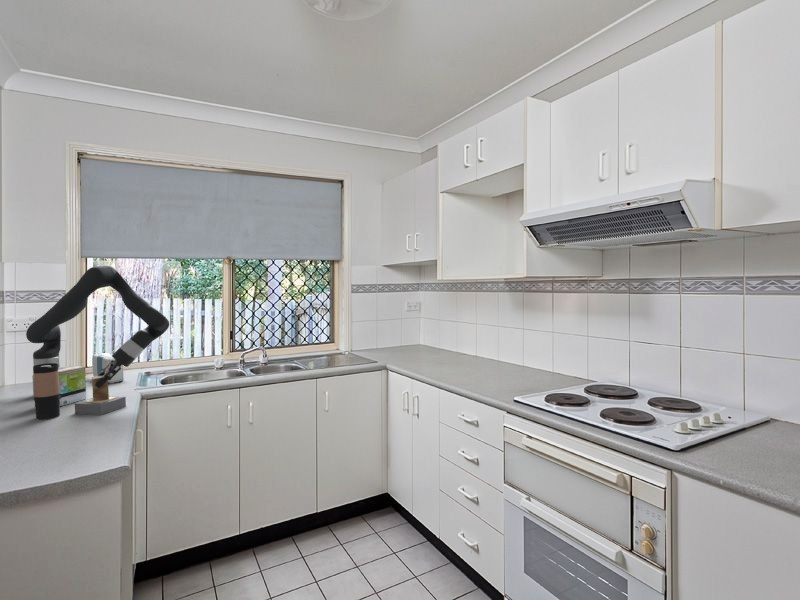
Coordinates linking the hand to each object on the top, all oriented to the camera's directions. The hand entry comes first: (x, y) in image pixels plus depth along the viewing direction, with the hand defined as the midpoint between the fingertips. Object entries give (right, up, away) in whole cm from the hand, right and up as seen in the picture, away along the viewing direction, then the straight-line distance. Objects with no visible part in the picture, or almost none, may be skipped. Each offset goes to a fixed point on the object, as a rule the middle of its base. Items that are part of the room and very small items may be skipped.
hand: (95, 384), depth 179 cm
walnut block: (+1, -6, +1) cm, 6 cm away
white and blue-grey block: (-30, -8, +54) cm, 62 cm away
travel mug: (-13, -11, -7) cm, 19 cm away
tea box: (-22, -10, +11) cm, 27 cm away
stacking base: (+1, -10, +1) cm, 10 cm away
